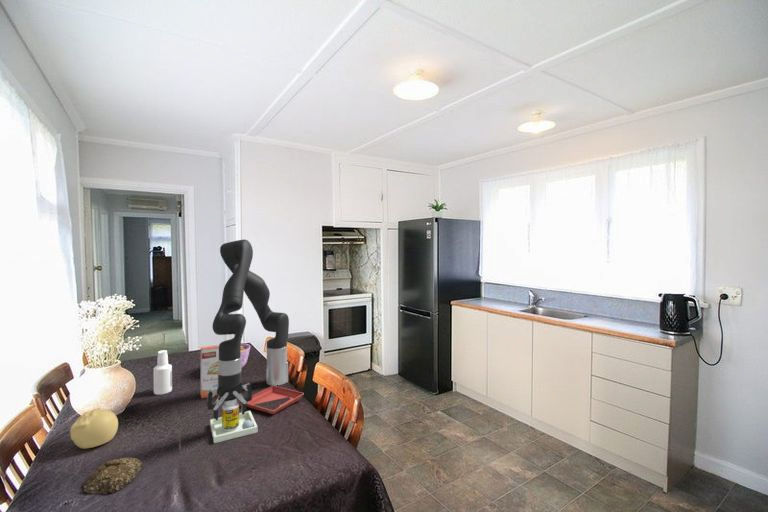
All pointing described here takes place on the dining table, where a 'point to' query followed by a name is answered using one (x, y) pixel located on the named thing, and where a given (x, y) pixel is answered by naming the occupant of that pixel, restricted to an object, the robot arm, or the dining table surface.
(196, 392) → the dining table surface
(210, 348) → the cracker box
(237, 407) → the supplement bottle
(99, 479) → the mottled brown rock
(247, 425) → the ball
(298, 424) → the dining table surface
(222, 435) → the tray
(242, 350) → the bowl of food
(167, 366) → the spray bottle
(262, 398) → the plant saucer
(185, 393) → the dining table surface
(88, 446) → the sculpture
